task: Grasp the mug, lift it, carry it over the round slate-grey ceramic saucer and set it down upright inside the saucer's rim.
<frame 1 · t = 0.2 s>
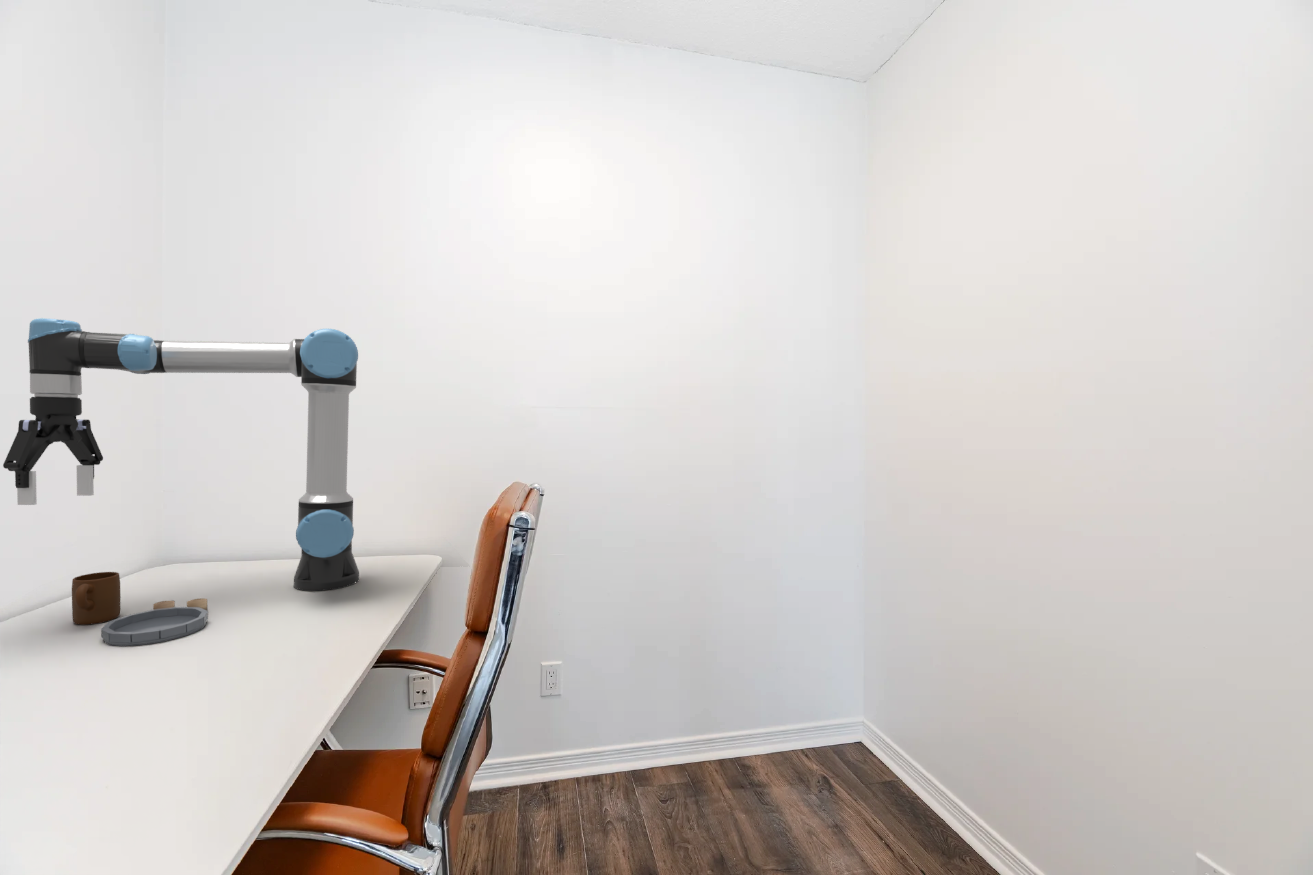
hand: (57, 499, 124), 26 cm above the table, fingers open, 13 cm apart
bead a: (197, 614, 134), on the table
saucer: (157, 631, 123), on the table
bead b: (164, 616, 132), on the table
mug: (92, 623, 127), on the table
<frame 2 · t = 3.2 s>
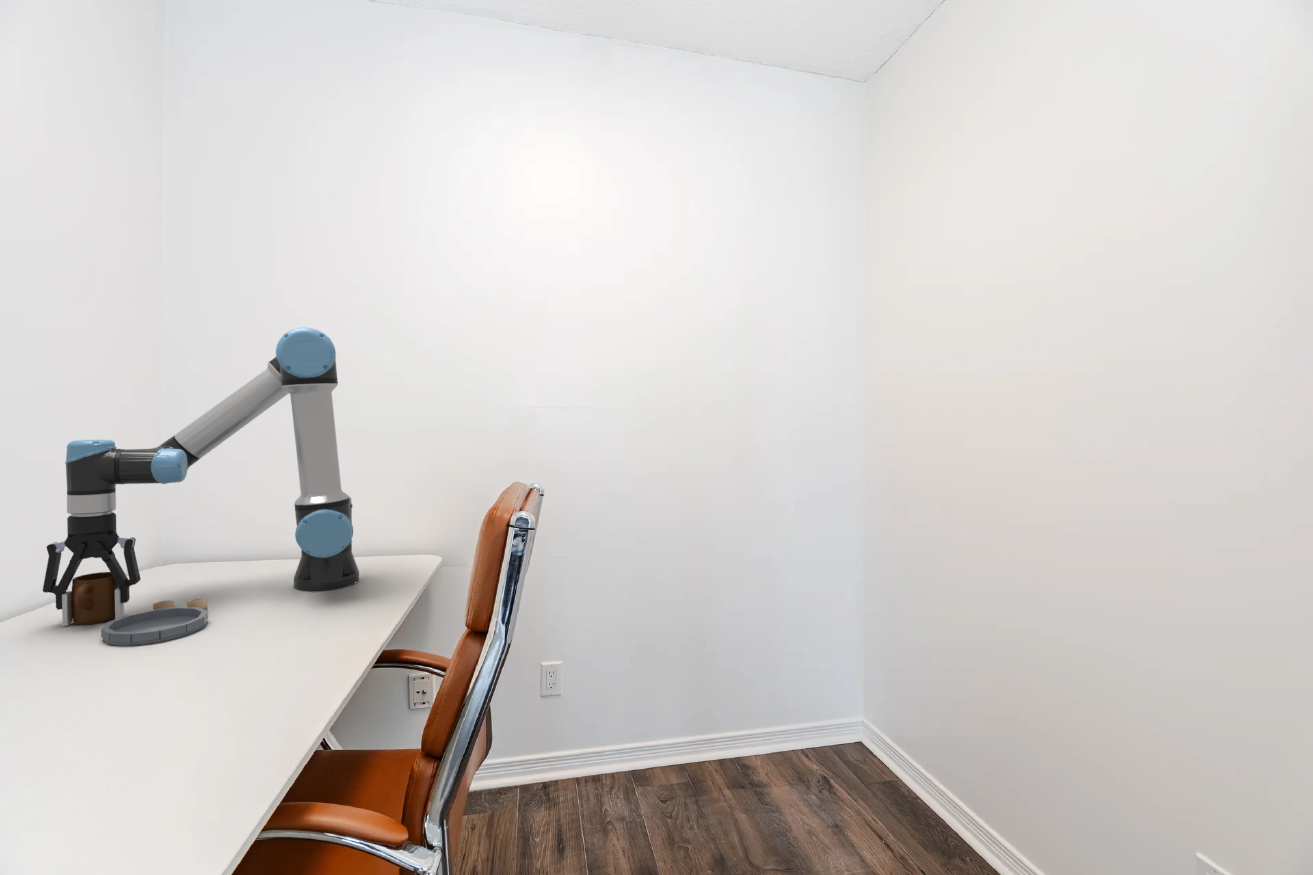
hand: (94, 620, 128), 0 cm above the table, fingers closed on mug, 8 cm apart
mug: (92, 623, 127), on the table, touching gripper
everything else where it was.
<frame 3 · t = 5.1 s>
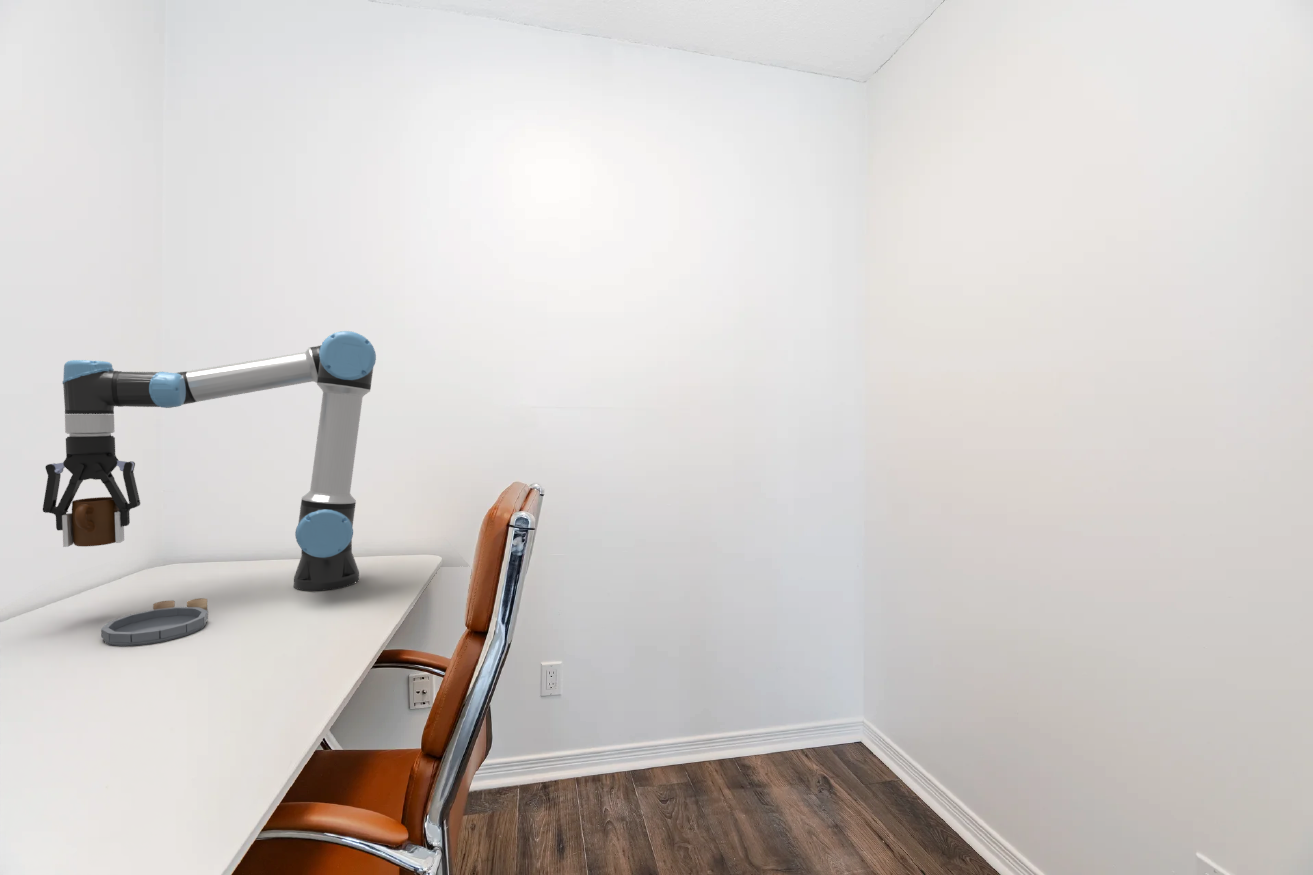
hand: (94, 543, 127), 17 cm above the table, fingers closed on mug, 7 cm apart
mug: (93, 546, 127), point 16 cm above the table, touching gripper
everything else where it was.
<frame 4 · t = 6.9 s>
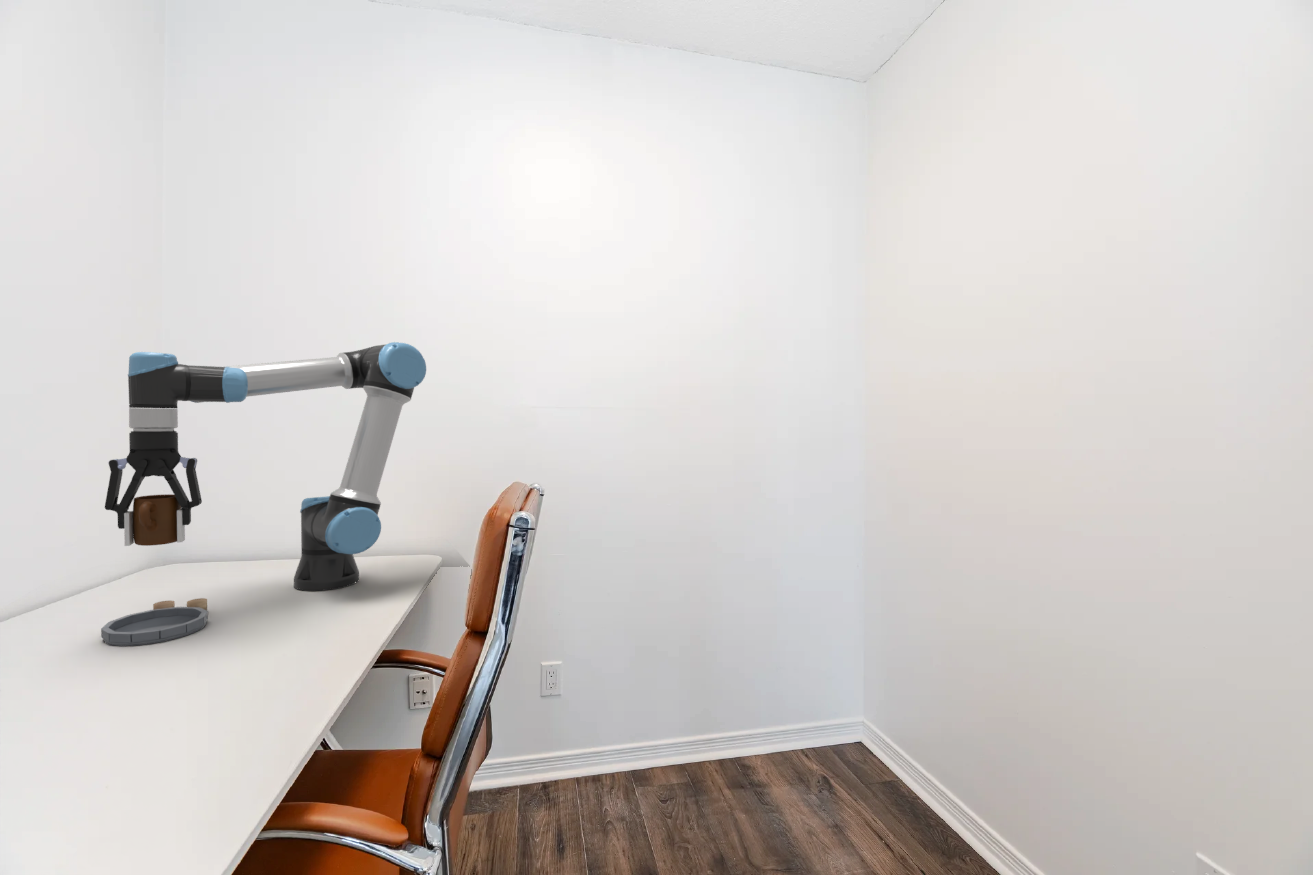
hand: (155, 542, 122), 18 cm above the table, fingers closed on mug, 8 cm apart
mug: (154, 545, 122), point 18 cm above the table, touching gripper
everything else where it was.
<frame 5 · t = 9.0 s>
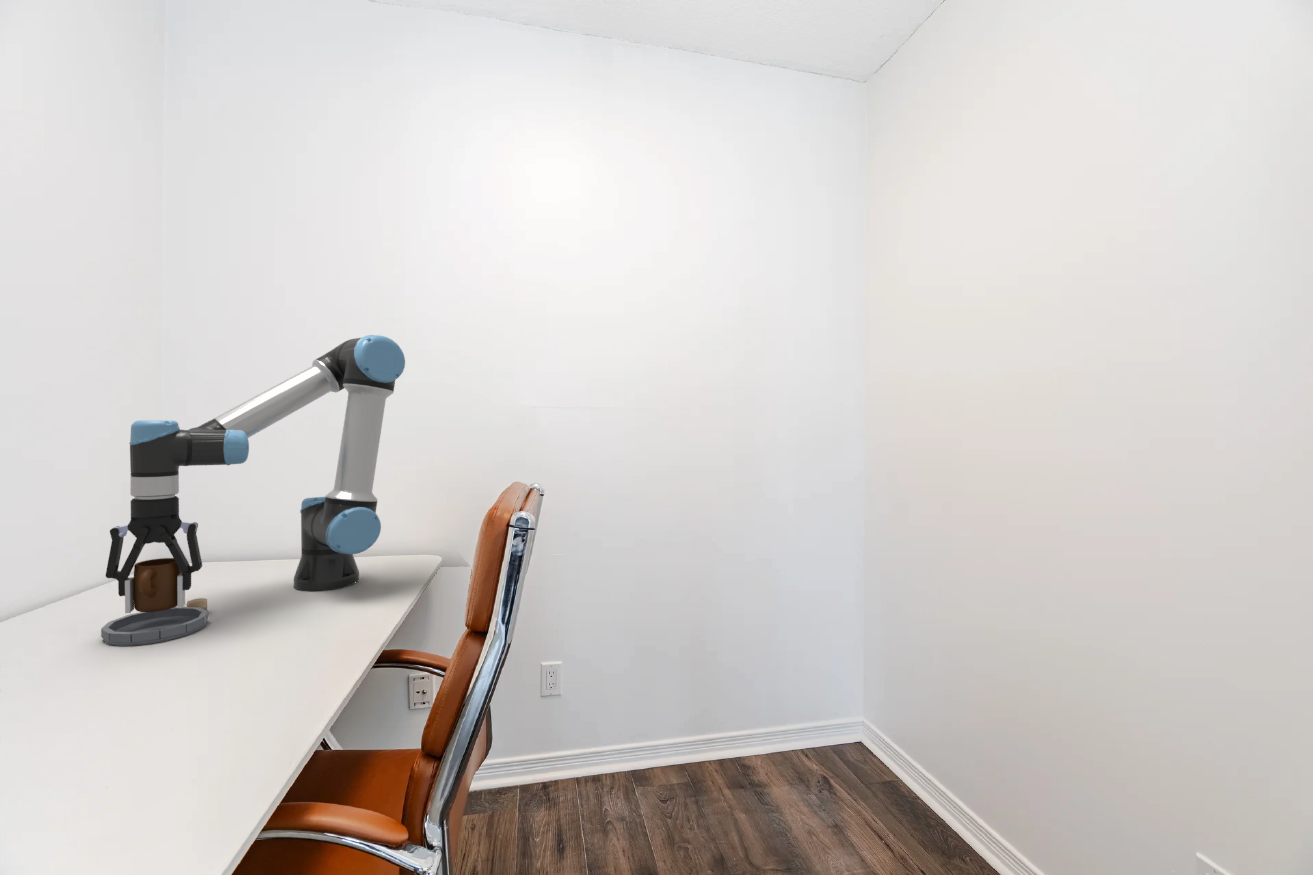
hand: (156, 608, 123), 5 cm above the table, fingers closed on mug, 8 cm apart
mug: (154, 611, 122), point 4 cm above the table, touching gripper
everything else where it was.
when the fingers open (2 cm above the table, at t = 10.5 s): mug stays where it is, resting on saucer.
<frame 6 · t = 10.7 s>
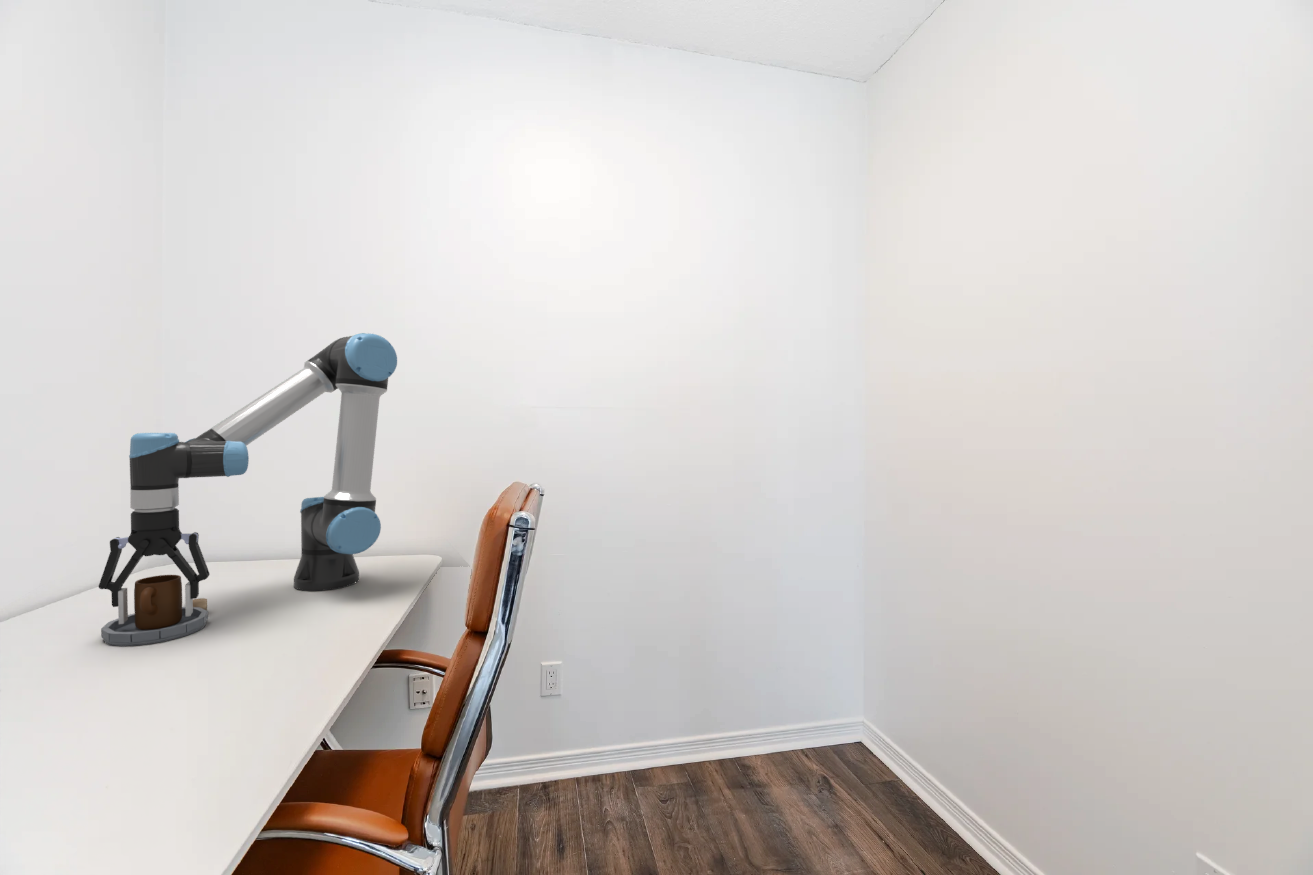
hand: (156, 618, 123), 3 cm above the table, fingers open, 10 cm apart
mug: (155, 628, 123), point 1 cm above the table, touching saucer
everything else where it was.
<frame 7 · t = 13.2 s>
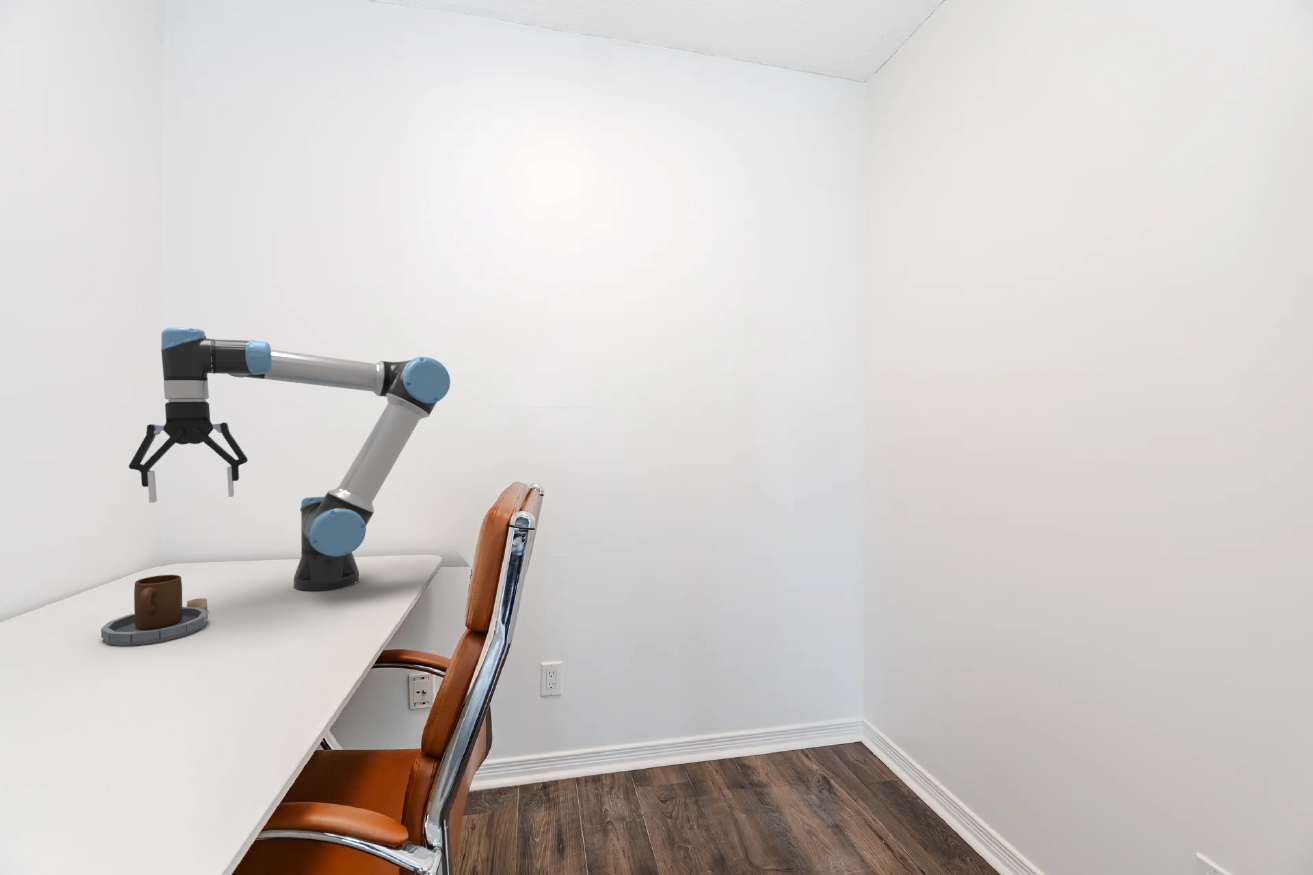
hand: (193, 499, 131), 26 cm above the table, fingers open, 13 cm apart
nothing on the table moved.
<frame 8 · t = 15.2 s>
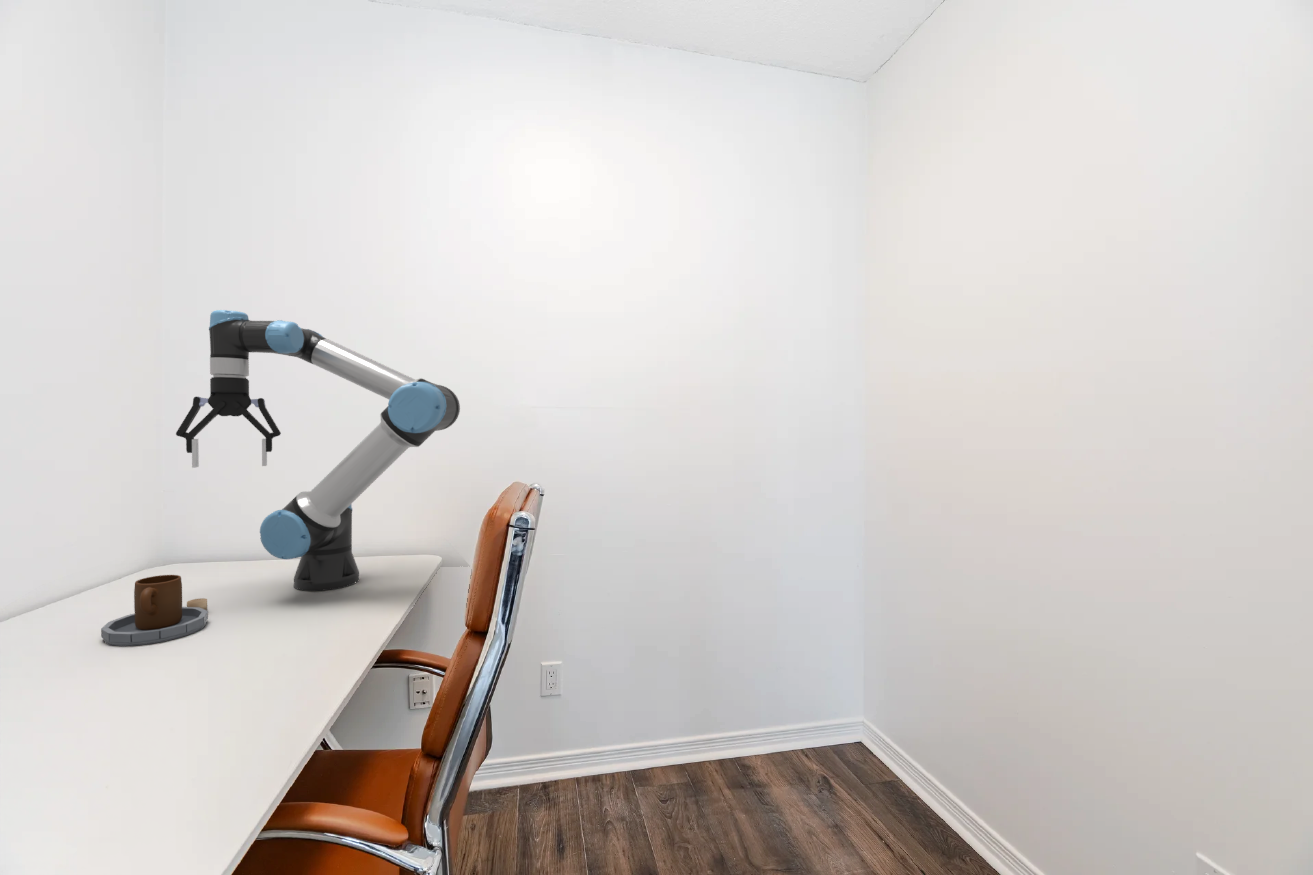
hand: (230, 466, 144), 32 cm above the table, fingers open, 13 cm apart
nothing on the table moved.
at the end: mug inside the target area on the saucer (0.4 cm from its centre), point 0.6 cm above the saucer's base; mug tilted 0°; the gripper is holding nothing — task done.
